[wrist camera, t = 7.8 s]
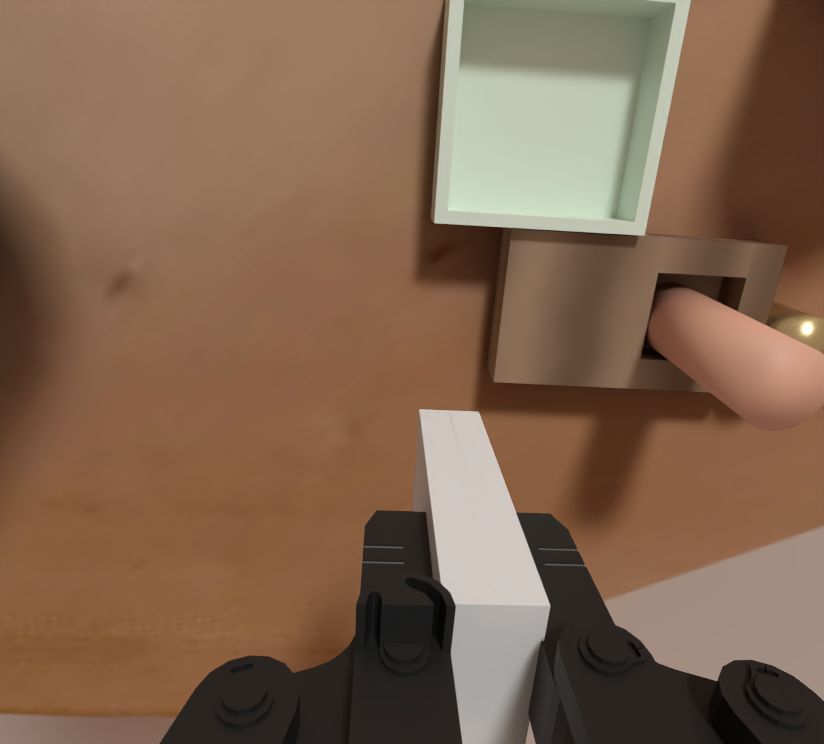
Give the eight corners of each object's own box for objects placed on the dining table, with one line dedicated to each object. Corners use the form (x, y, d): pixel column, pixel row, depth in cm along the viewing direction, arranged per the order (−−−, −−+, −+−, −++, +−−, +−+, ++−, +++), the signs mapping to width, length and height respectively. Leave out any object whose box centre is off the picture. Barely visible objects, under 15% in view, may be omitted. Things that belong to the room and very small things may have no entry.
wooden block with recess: (484, 364, 32) (493, 382, 29) (500, 223, 30) (511, 228, 27) (716, 375, 33) (746, 394, 30) (751, 239, 30) (788, 245, 27)
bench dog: (729, 350, 32) (774, 374, 28) (743, 299, 31) (791, 317, 27) (780, 353, 32) (831, 377, 28) (795, 302, 31) (850, 320, 27)
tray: (430, 218, 29) (434, 223, 26) (445, -10, 25) (452, -33, 23) (620, 229, 29) (644, 235, 26) (660, 7, 26) (693, -13, 23)
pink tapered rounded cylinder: (626, 342, 31) (726, 427, 22) (642, 280, 30) (756, 342, 20) (687, 347, 31) (812, 433, 22) (706, 285, 30) (847, 349, 21)
